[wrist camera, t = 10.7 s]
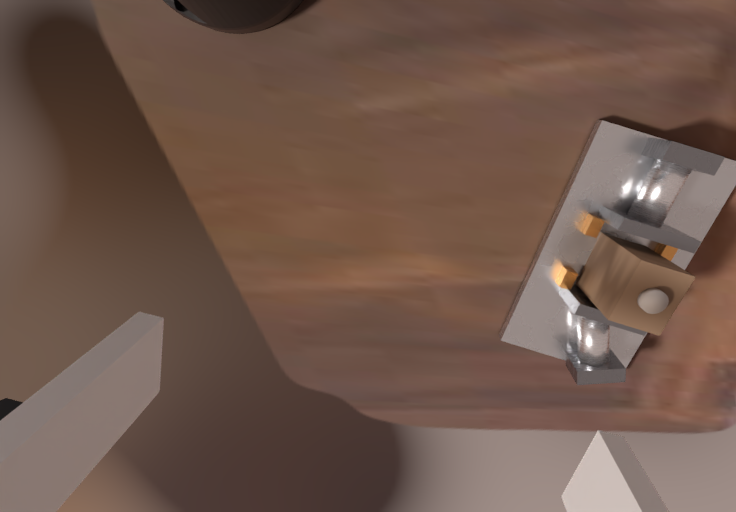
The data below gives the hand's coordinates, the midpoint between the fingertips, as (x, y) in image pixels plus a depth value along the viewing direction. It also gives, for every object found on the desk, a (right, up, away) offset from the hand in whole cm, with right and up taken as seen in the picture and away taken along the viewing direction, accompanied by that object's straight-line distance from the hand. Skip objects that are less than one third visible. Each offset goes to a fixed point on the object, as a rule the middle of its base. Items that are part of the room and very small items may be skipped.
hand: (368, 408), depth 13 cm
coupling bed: (+21, +4, +26) cm, 34 cm away
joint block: (+21, +4, +25) cm, 33 cm away
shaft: (+20, -3, +27) cm, 34 cm away
